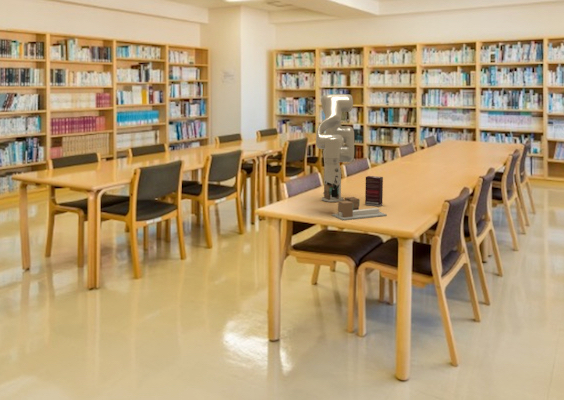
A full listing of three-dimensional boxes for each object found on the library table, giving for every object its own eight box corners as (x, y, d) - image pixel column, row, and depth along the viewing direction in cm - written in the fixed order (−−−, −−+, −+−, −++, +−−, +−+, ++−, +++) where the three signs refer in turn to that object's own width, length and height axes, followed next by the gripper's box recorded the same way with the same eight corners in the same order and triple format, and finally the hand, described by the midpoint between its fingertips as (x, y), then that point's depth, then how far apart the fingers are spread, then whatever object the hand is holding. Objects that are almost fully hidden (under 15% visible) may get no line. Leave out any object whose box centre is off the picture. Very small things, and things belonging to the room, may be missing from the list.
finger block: (329, 200, 298) (329, 186, 296) (324, 197, 303) (324, 184, 301) (339, 198, 300) (339, 185, 298) (334, 196, 305) (334, 183, 304)
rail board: (331, 215, 296) (331, 200, 295) (373, 211, 306) (374, 196, 304) (343, 220, 286) (343, 204, 284) (386, 215, 295) (387, 200, 294)
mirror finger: (344, 210, 308) (344, 197, 307) (354, 209, 310) (354, 196, 309) (350, 212, 303) (350, 199, 301) (359, 211, 305) (360, 198, 304)
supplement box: (382, 205, 322) (383, 176, 319) (379, 206, 318) (380, 177, 315) (368, 203, 326) (368, 175, 323) (364, 205, 322) (365, 176, 319)
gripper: (346, 163, 291) (346, 198, 295) (330, 158, 306) (330, 191, 310) (333, 164, 288) (333, 200, 292) (317, 159, 303) (317, 192, 307)
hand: (331, 195), depth 301 cm, fingers closed on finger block, 5 cm apart
